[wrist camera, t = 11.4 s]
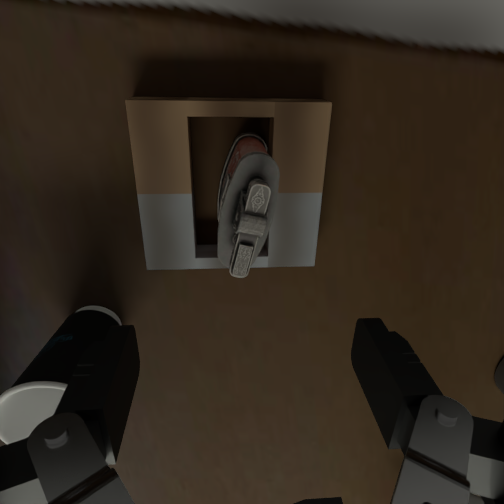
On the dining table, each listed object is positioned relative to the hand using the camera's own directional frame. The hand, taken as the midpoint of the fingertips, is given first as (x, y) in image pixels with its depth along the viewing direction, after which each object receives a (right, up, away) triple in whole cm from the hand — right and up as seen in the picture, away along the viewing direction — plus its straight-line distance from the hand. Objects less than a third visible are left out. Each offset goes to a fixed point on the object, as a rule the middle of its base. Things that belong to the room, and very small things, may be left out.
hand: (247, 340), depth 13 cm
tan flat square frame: (-2, +9, +17) cm, 19 cm away
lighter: (-1, +9, +17) cm, 19 cm away
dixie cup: (-15, -4, +23) cm, 27 cm away
